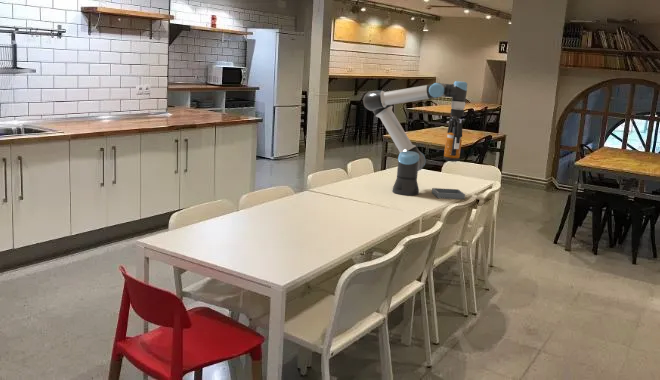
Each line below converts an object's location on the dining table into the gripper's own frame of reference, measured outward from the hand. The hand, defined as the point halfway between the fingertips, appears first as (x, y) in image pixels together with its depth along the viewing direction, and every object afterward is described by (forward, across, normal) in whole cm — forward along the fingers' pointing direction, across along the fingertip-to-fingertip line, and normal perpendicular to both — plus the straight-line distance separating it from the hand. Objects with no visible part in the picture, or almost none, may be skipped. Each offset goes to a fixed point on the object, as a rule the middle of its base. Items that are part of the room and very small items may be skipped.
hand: (452, 147), depth 356 cm
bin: (+28, -6, +2) cm, 28 cm away
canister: (+8, 0, 0) cm, 8 cm away
